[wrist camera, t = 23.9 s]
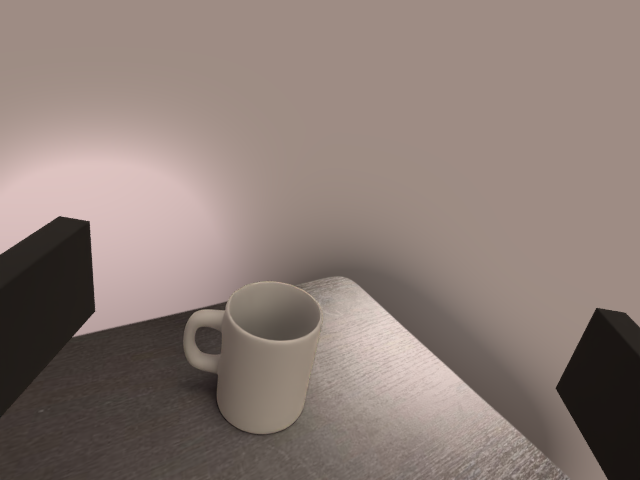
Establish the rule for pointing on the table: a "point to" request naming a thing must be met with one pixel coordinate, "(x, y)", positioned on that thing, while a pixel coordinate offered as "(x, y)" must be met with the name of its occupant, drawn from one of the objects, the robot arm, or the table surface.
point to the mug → (260, 354)
